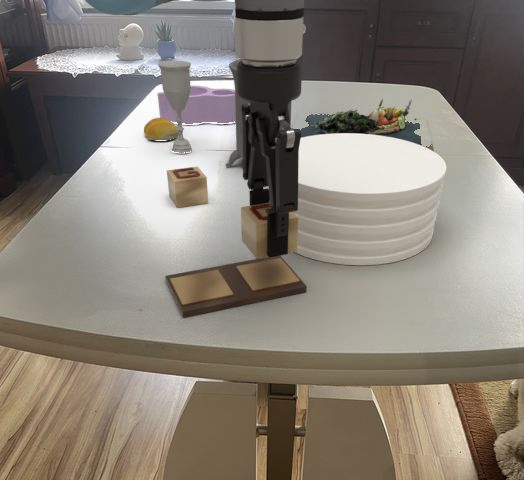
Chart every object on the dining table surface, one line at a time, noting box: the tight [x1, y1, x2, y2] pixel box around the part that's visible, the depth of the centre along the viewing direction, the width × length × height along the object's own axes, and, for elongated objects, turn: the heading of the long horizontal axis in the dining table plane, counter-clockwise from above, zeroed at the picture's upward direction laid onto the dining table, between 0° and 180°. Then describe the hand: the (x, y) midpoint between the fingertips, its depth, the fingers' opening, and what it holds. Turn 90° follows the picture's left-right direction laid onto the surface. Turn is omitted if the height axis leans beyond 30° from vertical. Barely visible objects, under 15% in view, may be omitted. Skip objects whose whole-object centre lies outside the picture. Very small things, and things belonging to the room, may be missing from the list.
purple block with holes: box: [157, 84, 236, 124], centre depth 144 cm, size 20×12×7 cm, turn 81°
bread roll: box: [143, 117, 179, 141], centre depth 133 cm, size 8×9×4 cm
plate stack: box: [293, 133, 447, 266], centre depth 91 cm, size 28×28×12 cm
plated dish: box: [300, 99, 435, 152], centre depth 136 cm, size 35×28×7 cm
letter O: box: [240, 203, 298, 259], centre depth 75 cm, size 6×6×5 cm
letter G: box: [166, 166, 209, 209], centre depth 102 cm, size 6×6×5 cm
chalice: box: [157, 60, 193, 153], centre depth 120 cm, size 7×7×18 cm
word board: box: [164, 255, 308, 319], centre depth 78 cm, size 18×10×1 cm, turn 111°
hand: (268, 243), depth 77 cm, fingers closed on letter O, 6 cm apart
